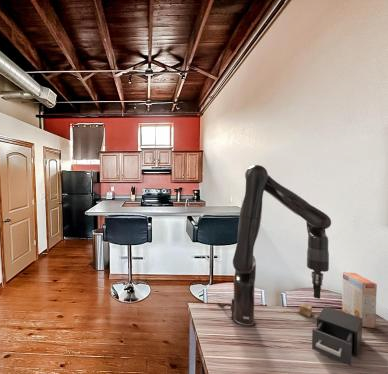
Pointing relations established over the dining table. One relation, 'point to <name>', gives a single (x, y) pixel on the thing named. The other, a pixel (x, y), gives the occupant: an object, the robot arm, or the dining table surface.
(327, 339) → the drawer
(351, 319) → the dark grey box
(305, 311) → the block
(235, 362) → the dining table surface
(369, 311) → the cracker box
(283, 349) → the dining table surface
